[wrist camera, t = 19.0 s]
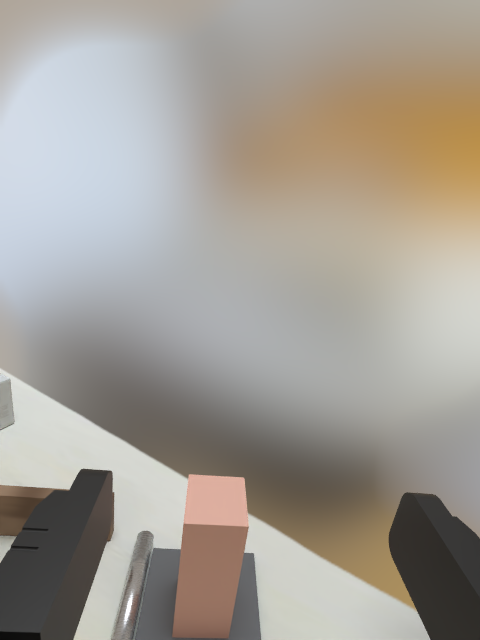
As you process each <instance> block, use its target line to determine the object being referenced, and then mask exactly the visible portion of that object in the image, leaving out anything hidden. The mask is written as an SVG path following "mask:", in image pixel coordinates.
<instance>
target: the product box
mask: <svg viewBox="0 0 480 640" xmlns="http://www.w3.org/2000/svg"><path fill="white" fill-rule="evenodd" d="M13 423H14V413H13V403H12V393H11V382H10V378H8V377H6V376H4V375H2V374H1V373H0V429H2V428H5V427H7V426H9V425H11V424H13Z"/></svg>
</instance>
